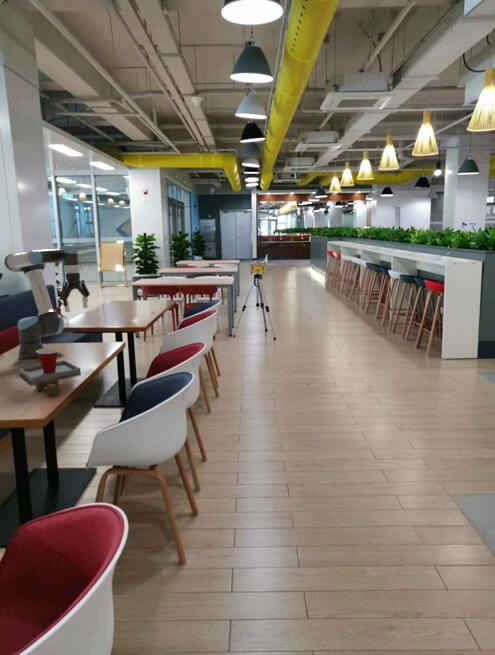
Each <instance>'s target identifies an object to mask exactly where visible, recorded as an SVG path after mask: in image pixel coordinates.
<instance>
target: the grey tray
mask: <svg viewBox="0 0 495 655" xmlns="http://www.w3.org/2000/svg"><path fill="white" fill-rule="evenodd" d="M81 374H82V371H81V367H80V366H79V367H78V366H77V365H76V364H73V363H72V362H69V361H68V360H65V359H63V360H59V361H56V371H55V372H54V373H48V374H46V373H44V372H43V369H42V366H41V364H37V365H32V366H27V367H21V368H19V375H20V376H22V377H23V378H24V379H26V380H27V381H28V382H29V383H30V384H31V385H34V384H35V380H36V379H39V380H49V379H51V378H53V377H55V376H56V377H57V379H58V380H59V379H63V378H64V379H65V378H67V377H73V376H77V375H81Z"/></svg>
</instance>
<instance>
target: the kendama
mask: <svg viewBox="0 0 495 655" xmlns="http://www.w3.org/2000/svg"><path fill="white" fill-rule="evenodd" d="M34 384H35V389H36V391H37V393H38V392H41V391H42V390H44V389H46V392H47V393H48V395H49V396H50V397H55V396H58V395H60V392H61V389H60V387H59V379H57V377H56V376H55V377H53V378H51V379H49V380H39V379H36V380H35V383H34Z"/></svg>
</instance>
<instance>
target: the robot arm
mask: <svg viewBox="0 0 495 655" xmlns="http://www.w3.org/2000/svg"><path fill="white" fill-rule="evenodd" d="M77 248H78V247H77V245H76V244H64V245H63V246H62V248H52V249H51V248H50V249H48V248H47V249H35V250H34V249H33V250H29V251H28V252H26V251H25V252H13V253H9V254H8V255H6V257H4V260H3V264H4V266H5V268H6V269H7V270H8V271H11V272H14V273H23V275H24V276H25V277H27V279H28V282H29V285H30V288H31V291H32V295H33V298H34V301H35V304H36V308H37V311H38V314H37V316H36V315H35V316H27V317H24V318H21V319H20V320H18V321H17V330H18V338H19V350H18V358H19V359H20V360H31V359H37V358H38V359H39V356H38V354H37V352H36V351H37V350H39V349H43V348H45V347H44V346H43V343H42V338H45V337H48V336H55V335H59V334H61V333H62V332H63V331H64V327H65V320H64V317H63V316H62V315H61V314H59V313H58V312H57V310H55V309H54V308H53V304H52V301H51V298H50V294H49V291H48V288H47V285H46V280H45V278H44V275H43V274H44V272H45V268H46V265H47V264H52V263H54V264H55V263H64V271H65V280H66V282H65V281H64V282H62V287H61V291H60V296H59V300H61V301H62V303H63V307H64V311H65V312H66V313H69V312H71V311H70V304H69V303H70V302H69V300H68V298H69V297H70V295H71V293H72V292H73V290H78V291H79V293H80V294H81V295H82V297H81V299H82V300H81V301H82V308H83V309H88V308H89V307H88V297H89V296H90V295H91V294H90V291H89V290H88V287H87V284H86V282H85V280H84V279H81V275H80V265H79V253H78V252H79V251H78V249H77Z"/></svg>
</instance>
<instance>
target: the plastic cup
mask: <svg viewBox="0 0 495 655" xmlns="http://www.w3.org/2000/svg"><path fill="white" fill-rule="evenodd" d="M36 352H37V354H38V356H39V357H38V360H39V363H40V365H41V366H42V369H43V372H44V373H46V374H48V373H54V372H55V371H56V362H57V358H58V357H57V356H58V352H59V349H58V348H55V347H44V348H43V349H39V350H37V351H36Z"/></svg>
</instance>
